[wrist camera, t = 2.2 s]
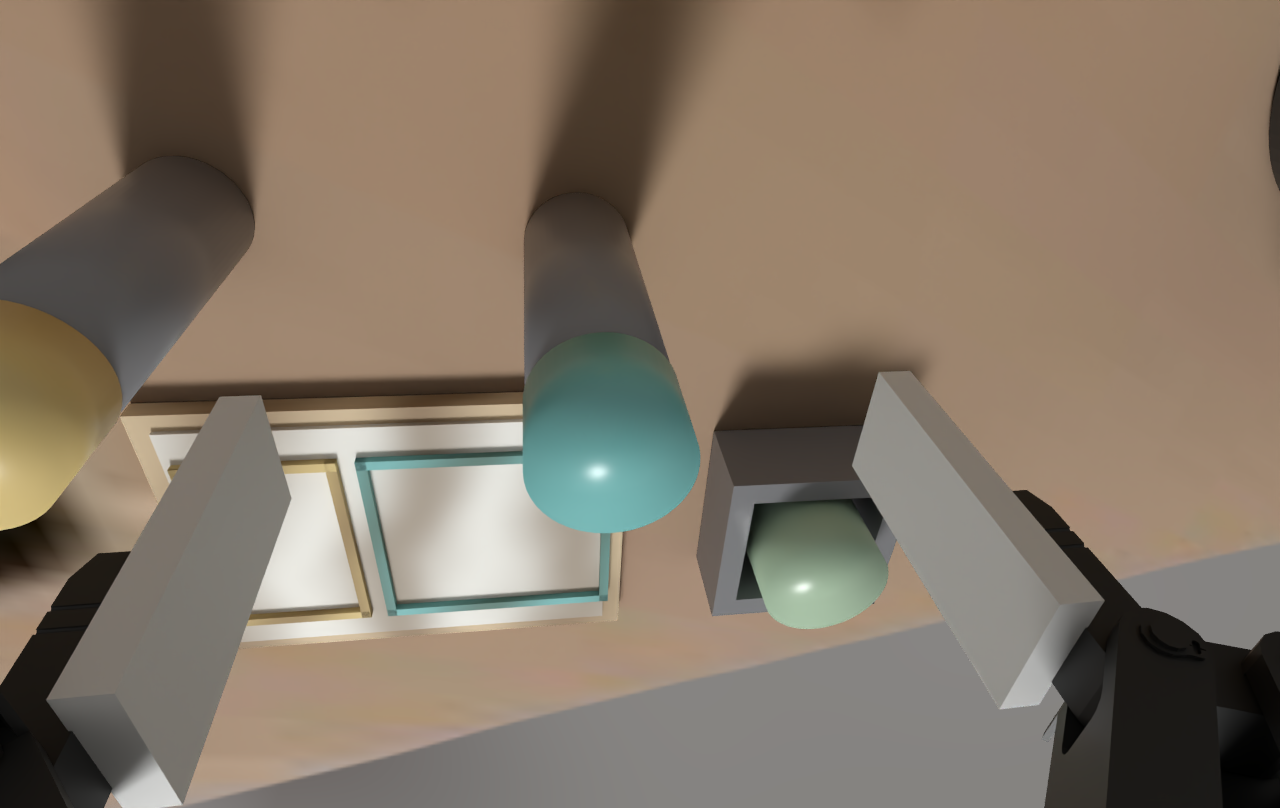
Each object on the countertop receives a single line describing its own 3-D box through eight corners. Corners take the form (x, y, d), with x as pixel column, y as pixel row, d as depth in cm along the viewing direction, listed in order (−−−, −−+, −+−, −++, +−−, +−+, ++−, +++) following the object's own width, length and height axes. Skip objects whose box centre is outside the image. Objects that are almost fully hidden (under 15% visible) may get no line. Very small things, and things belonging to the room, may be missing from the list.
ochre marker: (239, 155, 22) (8, 364, 12) (268, 269, 24) (92, 526, 14) (104, 153, 21) (-250, 370, 11) (147, 270, 23) (-124, 537, 14)
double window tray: (627, 389, 28) (631, 407, 27) (615, 607, 36) (619, 629, 35) (129, 403, 26) (112, 425, 25) (227, 635, 33) (218, 659, 32)
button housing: (882, 424, 31) (918, 477, 28) (845, 547, 35) (874, 603, 33) (713, 430, 30) (733, 486, 27) (696, 556, 34) (712, 616, 32)
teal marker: (633, 191, 24) (709, 391, 14) (628, 292, 26) (691, 528, 16) (519, 190, 23) (518, 398, 14) (524, 294, 26) (526, 537, 16)
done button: (864, 473, 30) (902, 538, 27) (839, 556, 33) (871, 624, 30) (749, 478, 30) (775, 546, 27) (733, 563, 33) (755, 633, 29)
